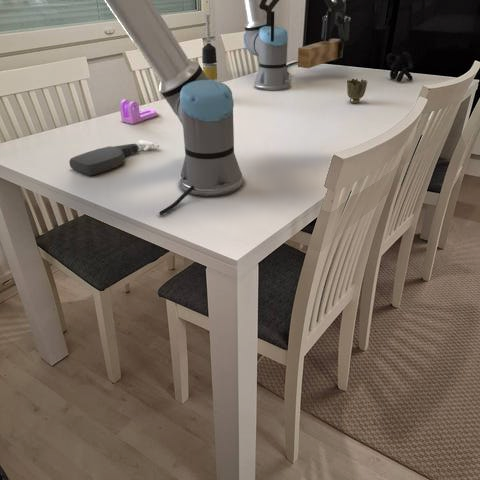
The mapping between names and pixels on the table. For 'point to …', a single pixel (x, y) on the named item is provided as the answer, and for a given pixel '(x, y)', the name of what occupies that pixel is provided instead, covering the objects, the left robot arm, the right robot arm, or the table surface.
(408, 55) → the squiggle
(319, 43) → the bar
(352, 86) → the cup
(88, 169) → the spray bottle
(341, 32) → the right robot arm
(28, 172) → the table surface
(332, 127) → the table surface
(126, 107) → the bracket
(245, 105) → the table surface
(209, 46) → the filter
